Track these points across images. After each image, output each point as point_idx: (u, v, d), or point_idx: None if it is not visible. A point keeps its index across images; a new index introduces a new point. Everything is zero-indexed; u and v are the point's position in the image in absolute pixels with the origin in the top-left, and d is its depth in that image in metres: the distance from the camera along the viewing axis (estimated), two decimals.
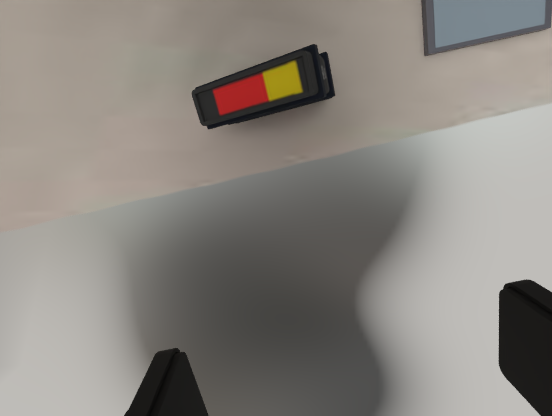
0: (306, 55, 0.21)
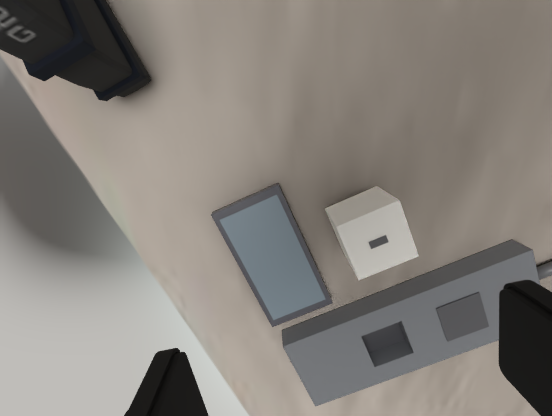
0: None
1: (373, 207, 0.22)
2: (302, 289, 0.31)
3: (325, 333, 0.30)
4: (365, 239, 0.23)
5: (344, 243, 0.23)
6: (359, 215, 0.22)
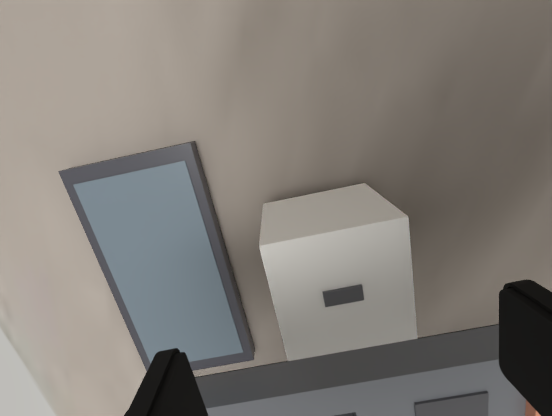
0: None
1: (350, 221, 0.10)
2: (206, 330, 0.18)
3: (229, 409, 0.18)
4: (317, 285, 0.10)
5: (271, 284, 0.10)
6: (315, 232, 0.10)
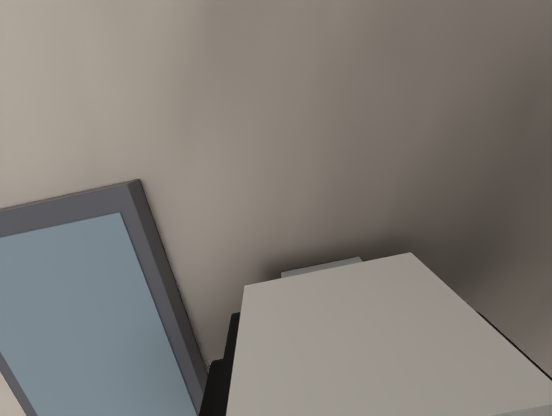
0: None
1: (422, 387, 0.05)
2: None
3: None
4: None
5: None
6: None
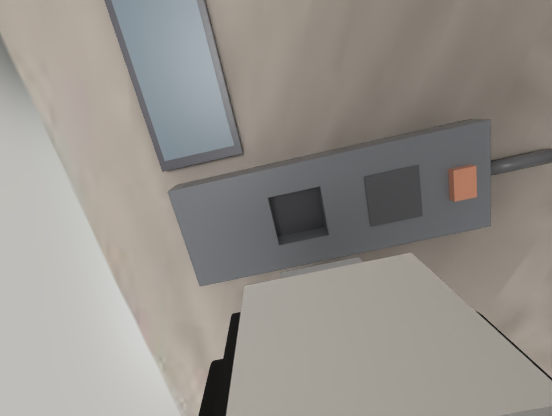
0: None
1: (424, 389, 0.05)
2: (205, 124, 0.24)
3: (224, 184, 0.24)
4: None
5: None
6: None
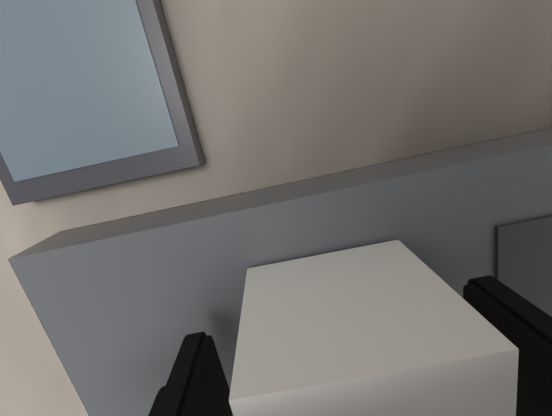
0: None
1: (399, 343, 0.06)
2: (106, 93, 0.10)
3: (149, 241, 0.10)
4: None
5: None
6: (336, 370, 0.05)
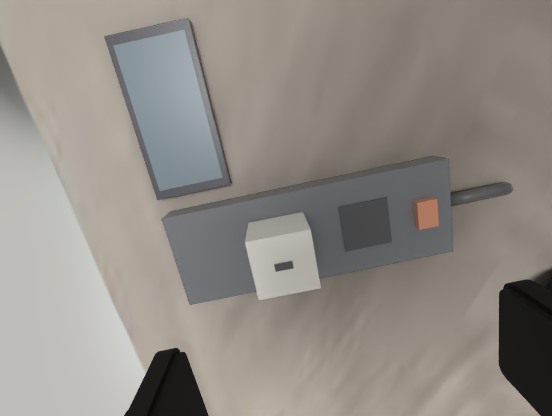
0: None
1: (286, 231, 0.23)
2: (197, 158, 0.27)
3: (213, 212, 0.27)
4: (272, 261, 0.23)
5: (250, 260, 0.22)
6: (270, 236, 0.22)
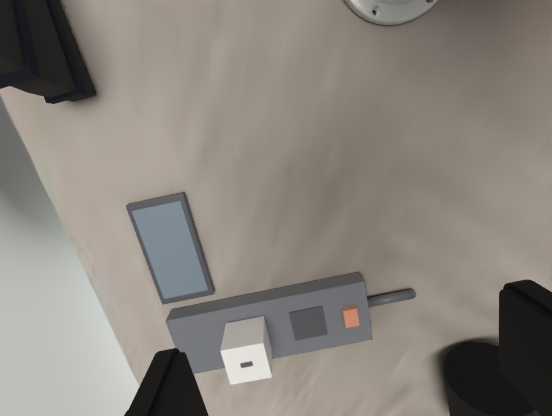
0: None
1: (248, 342, 0.34)
2: (190, 278, 0.38)
3: (201, 316, 0.38)
4: (238, 361, 0.34)
5: (224, 361, 0.34)
6: (237, 346, 0.34)
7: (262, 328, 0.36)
